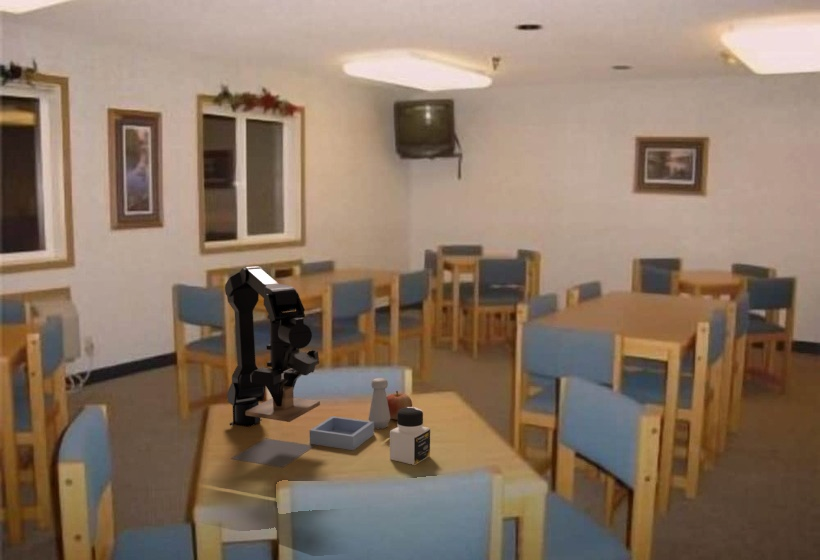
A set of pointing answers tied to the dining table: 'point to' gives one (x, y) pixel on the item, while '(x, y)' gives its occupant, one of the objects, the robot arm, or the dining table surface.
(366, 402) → the dining table surface
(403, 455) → the medicine bottle
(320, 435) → the blue-grey open box
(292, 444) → the mat
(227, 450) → the dining table surface
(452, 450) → the dining table surface
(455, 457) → the dining table surface
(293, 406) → the lid
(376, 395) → the salt shaker
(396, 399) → the apple
